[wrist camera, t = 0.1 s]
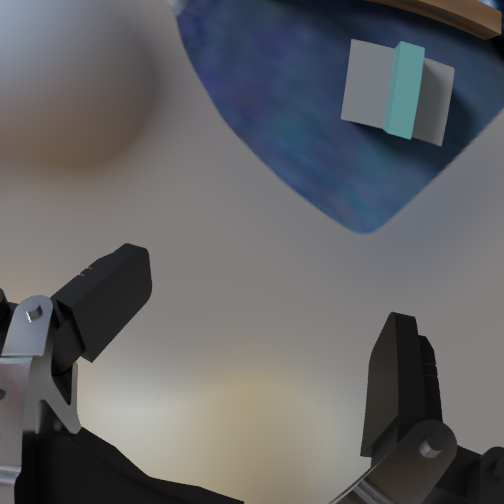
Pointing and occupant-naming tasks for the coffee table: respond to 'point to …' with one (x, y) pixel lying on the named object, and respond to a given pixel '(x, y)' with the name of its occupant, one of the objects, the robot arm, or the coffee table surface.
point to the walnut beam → (455, 14)
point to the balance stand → (398, 91)
